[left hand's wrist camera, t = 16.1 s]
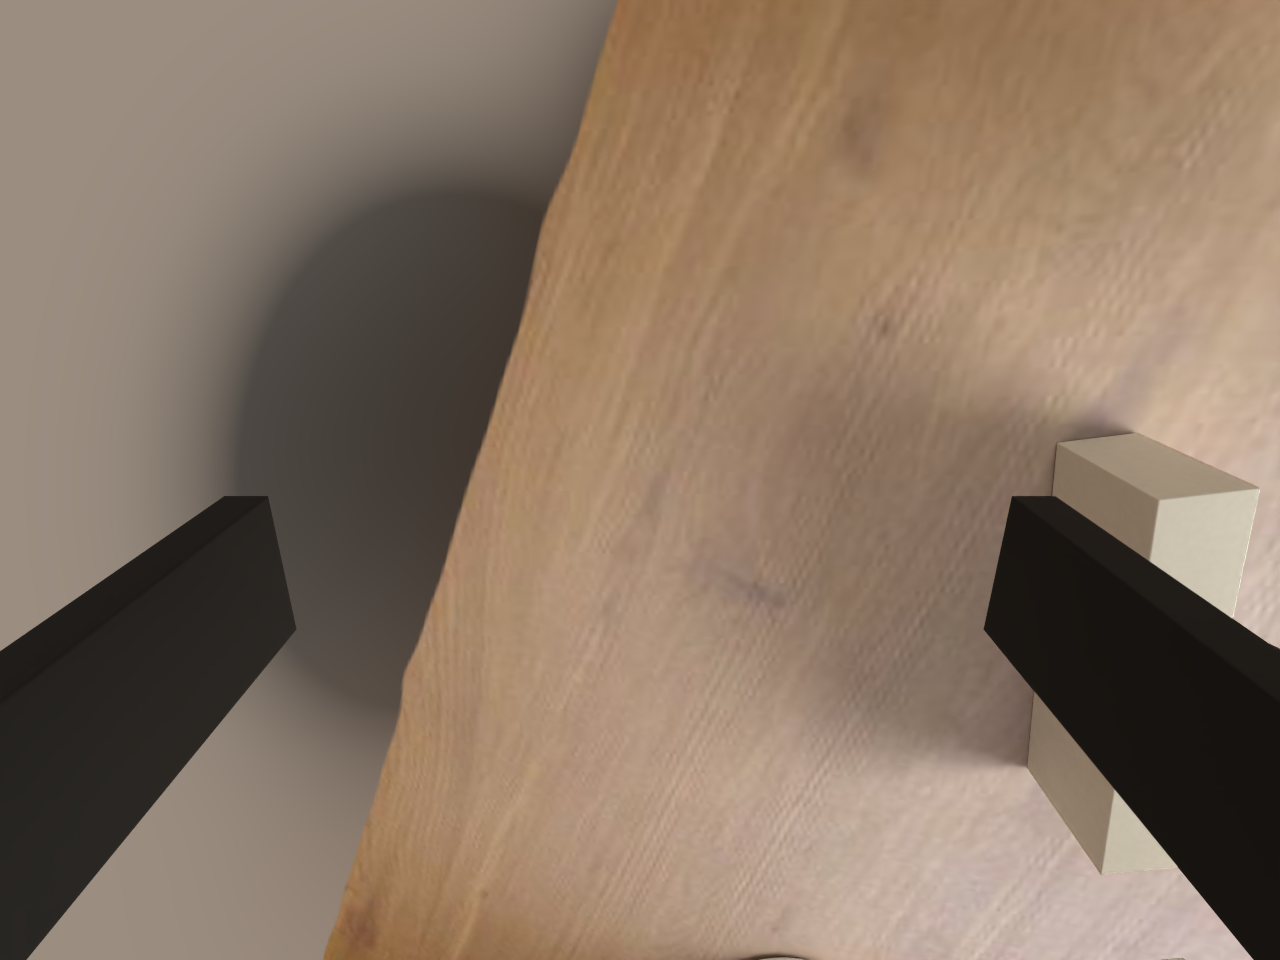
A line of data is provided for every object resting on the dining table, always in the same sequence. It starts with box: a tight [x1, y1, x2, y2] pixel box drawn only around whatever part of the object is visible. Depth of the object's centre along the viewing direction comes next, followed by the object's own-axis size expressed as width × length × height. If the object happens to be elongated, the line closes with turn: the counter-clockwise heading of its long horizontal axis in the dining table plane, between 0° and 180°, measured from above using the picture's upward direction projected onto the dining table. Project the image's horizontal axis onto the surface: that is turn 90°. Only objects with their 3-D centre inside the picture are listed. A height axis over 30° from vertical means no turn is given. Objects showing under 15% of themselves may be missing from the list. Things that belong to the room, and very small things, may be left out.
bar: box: [1027, 433, 1260, 875], centre depth 44 cm, size 26×5×9 cm, turn 8°
